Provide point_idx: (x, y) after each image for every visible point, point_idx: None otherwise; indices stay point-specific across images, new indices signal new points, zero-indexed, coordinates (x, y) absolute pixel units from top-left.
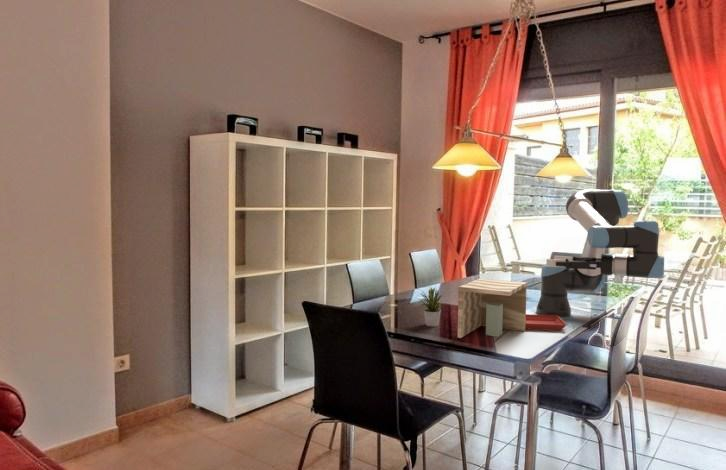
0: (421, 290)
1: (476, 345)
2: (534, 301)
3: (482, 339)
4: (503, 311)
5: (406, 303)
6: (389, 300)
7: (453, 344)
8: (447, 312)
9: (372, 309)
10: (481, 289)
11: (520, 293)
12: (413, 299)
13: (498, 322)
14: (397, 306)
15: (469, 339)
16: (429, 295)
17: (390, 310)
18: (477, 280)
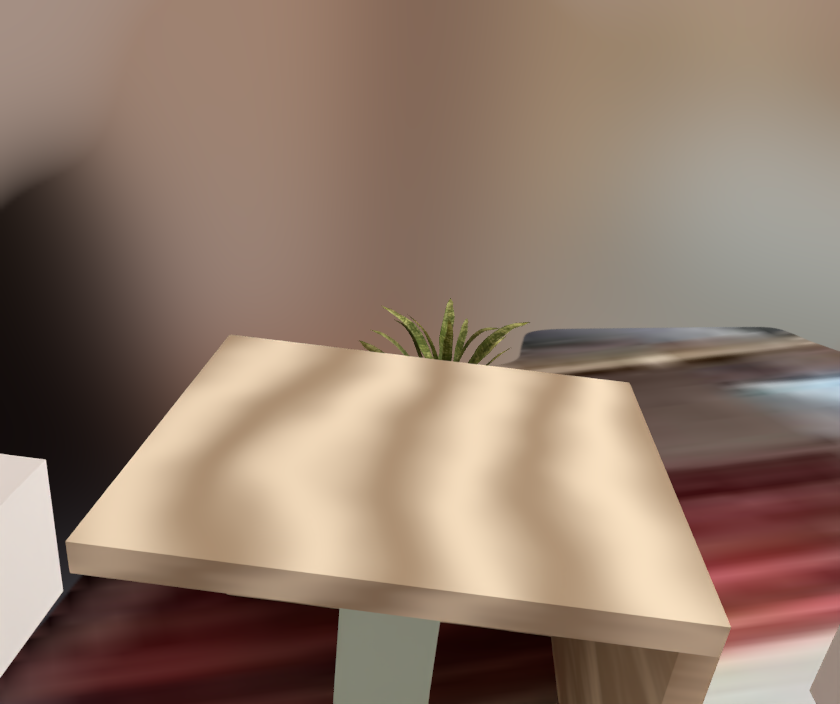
0: (453, 314)
1: (73, 678)
2: None
3: (225, 688)
4: (589, 673)
5: (717, 379)
6: (710, 347)
7: (84, 584)
8: (704, 487)
9: (544, 336)
10: (173, 407)
11: (650, 665)
12: (802, 384)
13: (334, 692)
14: (646, 369)
15: (206, 630)
16: (394, 341)
17: (569, 364)
18: (540, 379)
